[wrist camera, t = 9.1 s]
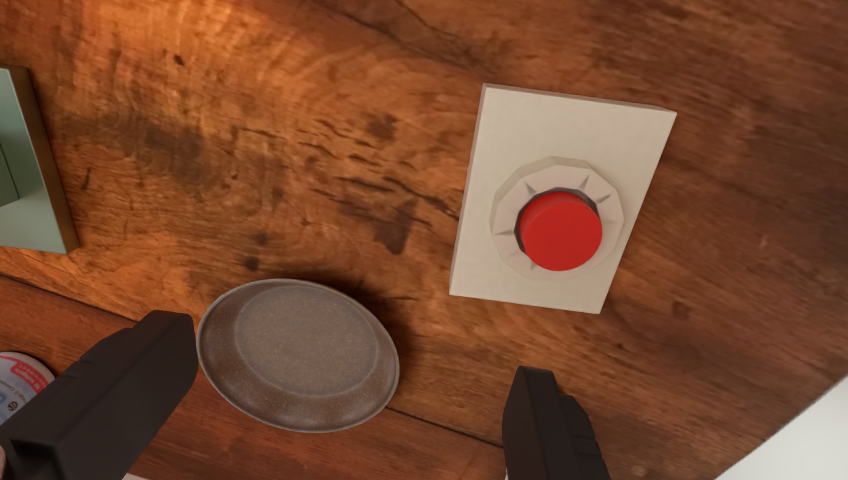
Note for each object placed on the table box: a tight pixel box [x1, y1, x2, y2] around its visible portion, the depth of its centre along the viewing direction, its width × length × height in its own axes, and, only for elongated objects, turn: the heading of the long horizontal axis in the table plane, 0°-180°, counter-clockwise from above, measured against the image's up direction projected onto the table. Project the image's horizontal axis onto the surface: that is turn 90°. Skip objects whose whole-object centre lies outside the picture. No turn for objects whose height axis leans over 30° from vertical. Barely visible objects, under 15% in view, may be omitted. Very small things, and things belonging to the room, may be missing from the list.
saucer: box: [196, 278, 400, 433], centre depth 31 cm, size 15×15×3 cm
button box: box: [449, 83, 677, 314], centre depth 24 cm, size 13×10×4 cm
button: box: [519, 191, 603, 271], centre depth 22 cm, size 4×4×2 cm
